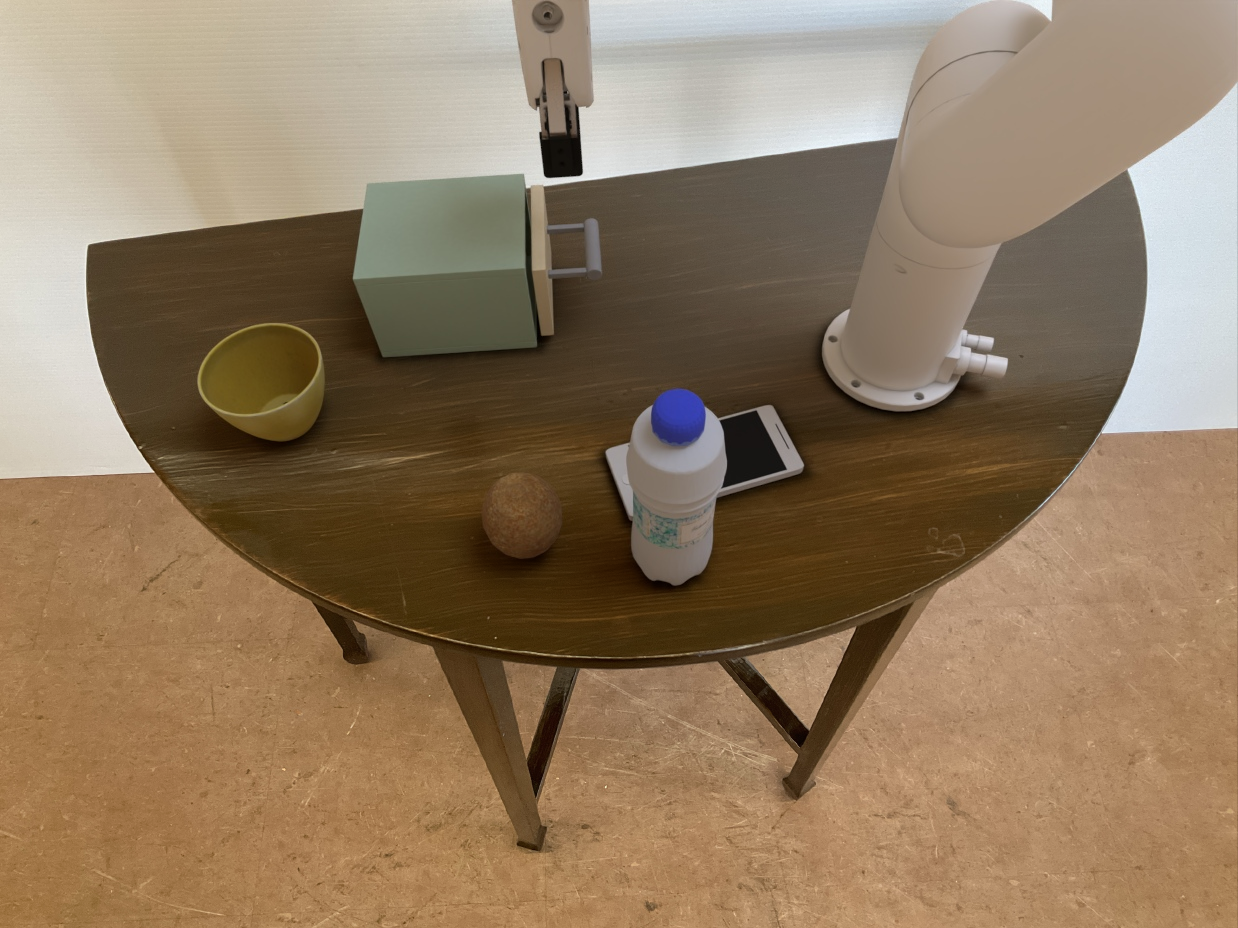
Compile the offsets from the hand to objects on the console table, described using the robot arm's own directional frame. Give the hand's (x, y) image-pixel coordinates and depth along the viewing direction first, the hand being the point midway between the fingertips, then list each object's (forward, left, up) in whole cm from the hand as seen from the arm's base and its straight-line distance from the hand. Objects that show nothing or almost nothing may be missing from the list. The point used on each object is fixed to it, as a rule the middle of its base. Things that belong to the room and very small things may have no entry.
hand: (562, 156), depth 71 cm
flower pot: (+20, +21, -16) cm, 34 cm away
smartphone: (-17, +16, -16) cm, 28 cm away
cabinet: (+10, +4, -16) cm, 20 cm away
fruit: (-5, +27, -16) cm, 32 cm away
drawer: (+6, +2, -15) cm, 17 cm away
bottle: (-16, +25, -16) cm, 34 cm away
